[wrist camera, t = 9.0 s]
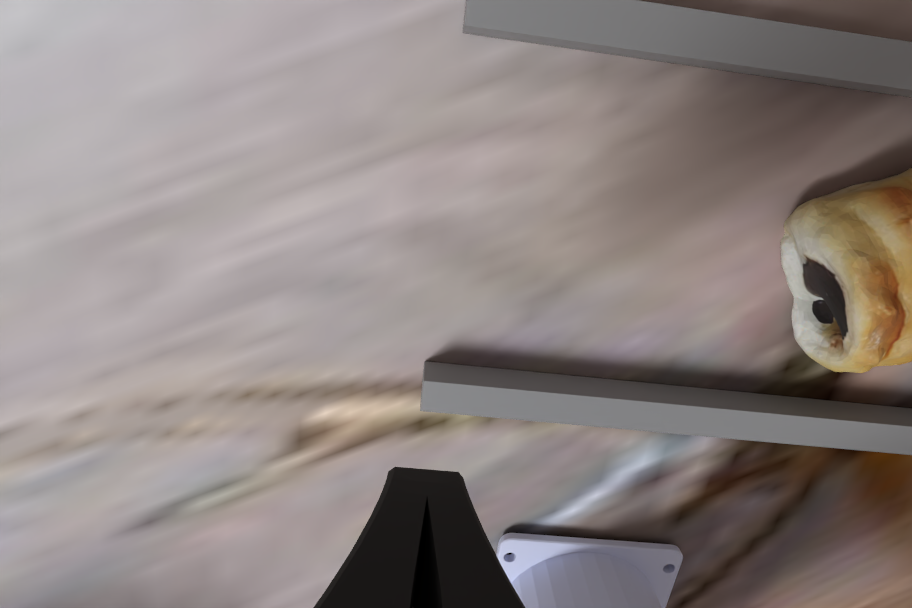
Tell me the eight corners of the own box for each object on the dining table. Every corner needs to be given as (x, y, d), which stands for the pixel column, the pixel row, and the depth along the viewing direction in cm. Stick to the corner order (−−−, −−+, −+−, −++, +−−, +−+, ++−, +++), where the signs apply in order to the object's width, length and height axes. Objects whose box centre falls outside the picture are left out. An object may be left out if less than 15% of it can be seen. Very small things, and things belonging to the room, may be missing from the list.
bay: (969, 440, 21) (1049, 490, 19) (421, 389, 20) (418, 435, 17) (1160, 91, 17) (1304, 87, 14) (467, -13, 15) (474, -41, 12)
